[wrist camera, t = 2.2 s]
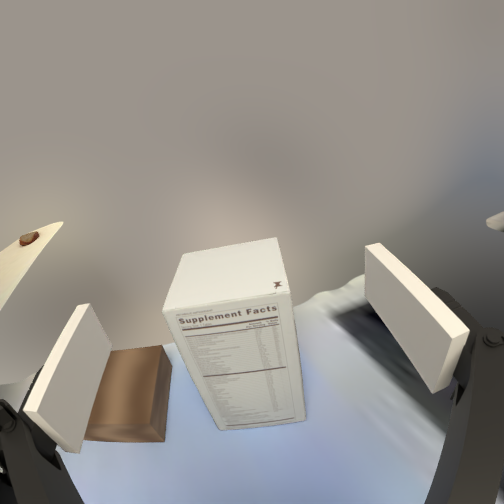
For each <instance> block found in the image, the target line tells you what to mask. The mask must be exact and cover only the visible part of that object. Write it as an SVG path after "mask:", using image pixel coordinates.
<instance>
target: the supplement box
mask: <svg viewBox="0 0 504 504" xmlns="http://www.w3.org/2000/svg"><path fill="white" fill-rule="evenodd" d="M162 313H163V316H164V318H165V320H166V323H167V325H168V327H169V330H170V332H171V334H172V336H173V339H174V341H175V343H176V345H177V348H178V350H179V352H180V354H181V356H182V358H183V361H184V363H185V365H186V367H187V369H188V371H189V373H190V376H191V378H192V380H193V382H194V383H195V385H196V387H197V389H198V391H199V393H200V395H201V397H202V399H203V401H204V403H205V405H206V407H207V408H208V410H209V412H210V414H211V416H212V418H213V420H214V422H215V423H216V425H217V427H218V428H219V430H235V429H246V428H256V427H265V426H273V425H280V424H287V423H293V422H300V421H305V420H306V410H305V400H304V389H303V379H302V370H301V361H300V353H299V346H298V339H297V332H296V326H295V320H294V313H293V306H292V299H291V293H290V289H289V285H288V281H287V276H286V272H285V267H284V263H283V258H282V254H281V250H280V247H279V242H278V238H277V237H275V238H270V239H264V240H258V241H252V242H247V243H241V244H235V245H230V246H224V247H218V248H213V249H207V250H202V251H196V252H191V253H185V254H183V256H182V258H181V261H180V263H179V266H178V269H177V271H176V274H175V277H174V279H173V282H172V285H171V287H170V290H169V292H168V295H167V298H166V301H165V304H164V306H163V309H162Z"/></svg>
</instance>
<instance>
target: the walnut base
mask: <svg viewBox="0 0 504 504" xmlns="http://www.w3.org/2000/svg"><path fill="white" fill-rule="evenodd" d="M171 372H172V365H171V363H170V361H169V359H168V357H167V355H166V353H165V350H164V348H163V346H162V345H159V346H151V347H143V348H135V349H126V350H117V351H111V352H110V355H109V358H108V360H107V363H106V366H105V369H104V372H103V375H102V378H101V381H100V384H99V387H98V391H97V394H96V397H95V400H94V403H93V407H92V410H91V413H90V417H89V420H88V424H87V428H86V431H85V435H84V439H83V440H90V441H105V442H165V431H166V420H167V409H168V399H169V389H170V380H171Z"/></svg>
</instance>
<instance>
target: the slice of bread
mask: <svg viewBox="0 0 504 504" xmlns="http://www.w3.org/2000/svg"><path fill="white" fill-rule="evenodd" d="M38 237H39V234H38V232H37V231H36V232H32V233H28V234H26V235H23V236H21V237H20V240H19V241H20V245H22V246H26V245H29V244H31V243H32V242H34V241H35V240H36V239H37V238H38Z"/></svg>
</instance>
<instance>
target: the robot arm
mask: <svg viewBox="0 0 504 504" xmlns="http://www.w3.org/2000/svg"><path fill="white" fill-rule="evenodd" d="M365 297H366V299H367V300H368V301H369V303H370V304H371V305H372V307H373V308H374V309H375V311H376V312H377V314H378V315H379V316H380V318H381V319H382V320H383V322H384V323H385V325H386V326H387V327H388V329H389V330H390V332H391V333H392V334H393V336H394V337H395V339H396V340H397V342H398V343H399V345H400V346H401V347H402V349H403V350H404V352H405V353H406V355H407V356H408V358H409V359H410V361H411V362H412V364H413V365H414V367H415V368H416V370H417V371H418V373H419V374H420V376H421V377H422V379H423V380H424V382H425V383H426V385H427V386H428V388H429V389H430V391H431V393H432V394H433V393H435V392H437V391H439V390H441V389H443V388H445V387H447V386H449V384H450V381H451V379H452V377H453V375H454V377H455V378H456V380H457V381H458V383H457V385H456V387H455V389H454V391H453V393H452V395H451V398H450V400H452V399H453V398H454V400H453V405H452V411H451V416H450V420H449V425H448V429H447V433H446V438H445V442H444V445H443V449H442V453H441V456H440V460H439V463H438V466H437V469H436V473H435V476H434V479H433V482H432V485H431V487H430V490H429V493H428V496H427V498H426V501H425V503H424V504H495V501H496V498H497V494H498V489H499V485H500V480H501V475H502V470H503V464H504V333H503V332H501V331H500V330H498V329H495V328H483V327H482V326H481V325H480V324H479V323H478V322H477V321H476V320H475V319H474V318H473V317H472V316H471V315H470V314H469V313H468V312H467V311H466V310H465V309H464V308H463V307H461V305H460V304H459V303H458V302H457V301H455V299H454V298H453V297H452V296H451V295H450V294H449V293H447V292H445V291H443V290H441V289H439V288H437V287H436V288H433V289H429V288H428V287H427V286H426V285H425V284H424V283H423V282H422V281H421V280H419V278H418V277H416V276H415V275H414V274H413V273H412V272H411V271H410V270H409V269H408V268H407V267H406V266H405V265H404V264H402V263H401V262H400V261H399V260H398V259H397V258H396V257H395V256H394V255H392V254H391V253H390V252H389V251H388V250H387V249H386V248H384V247H383V246H382V245H381V244H380V243H377V244H372V245H368V246H365ZM111 349H112V344H111V342H110V340H109V339H108V337H107V335H106V333H105V332H104V330H103V328H102V326H101V324H100V322H99V320H98V318H97V316H96V314H95V313H94V311H93V309H92V307H91V305H90V304H83V305H78V306H77V308H76V309H75V311H74V313H73V314H72V316H71V318H70V319H69V321H68V323H67V325H66V326H65V328H64V330H63V331H62V333H61V335H60V337H59V339H58V340H57V342H56V344H55V346H54V348H53V349H52V351H51V353H50V355H49V357H48V359H47V361H46V363H45V365H43V366H42V368H41V369H40V370H39V371H38V372H37V373H36V375H35V377H34V379H33V383H31V386H30V388H29V389H30V390H28V392H27V394H26V396H25V398H24V400H23V403H22V405H21V407H20V409H19V411H18V413H17V412H16V411H15V410H14V409H13V408H12V407H11V406H10V405H9V403H8V402H7V401H5V400H4V399H0V467H1V468H3V473H1V472H0V504H84V502H83V500H82V499H81V497H80V495H79V493H78V491H77V489H76V487H75V486H74V484H73V482H72V480H71V478H70V476H69V474H68V471H67V469H66V467H65V465H64V463H63V461H62V459H61V456H60V455H59V453H58V452H57V451H56V450H55V449H56V445H58V446H60V447H61V448H62V449H63V450H64V451H65V452H71V453H78V454H80V450H81V446H82V443H83V439H84V435H85V431H86V428H87V424H88V420H89V417H90V413H91V410H92V407H93V403H94V400H95V397H96V394H97V391H98V387H99V384H100V381H101V378H102V375H103V372H104V369H105V366H106V363H107V360H108V358H109V355H110V352H111Z"/></svg>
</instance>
